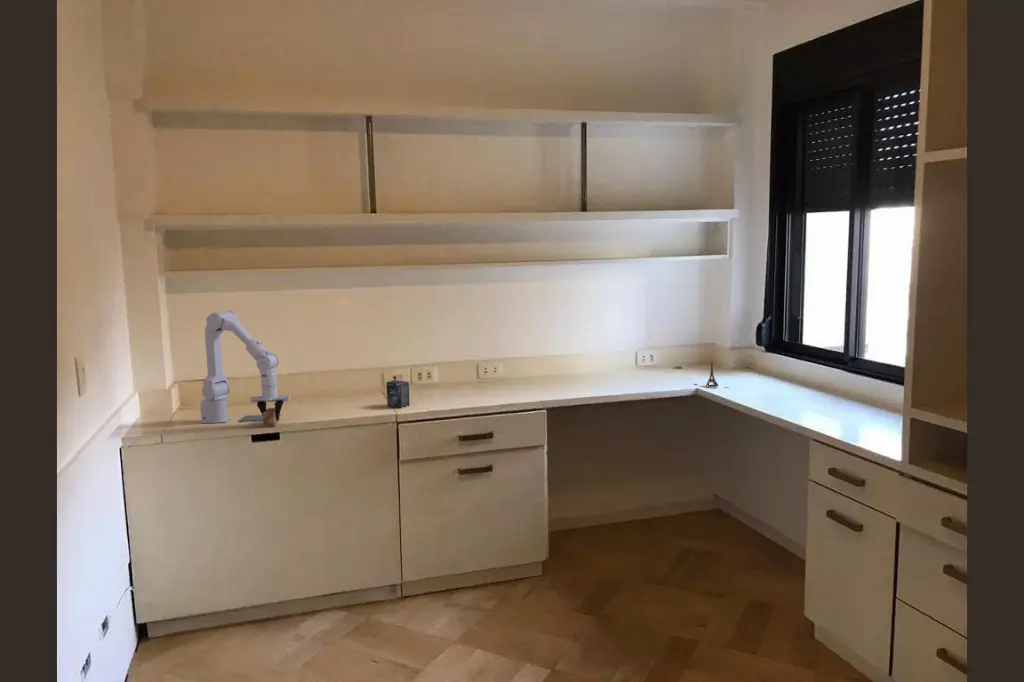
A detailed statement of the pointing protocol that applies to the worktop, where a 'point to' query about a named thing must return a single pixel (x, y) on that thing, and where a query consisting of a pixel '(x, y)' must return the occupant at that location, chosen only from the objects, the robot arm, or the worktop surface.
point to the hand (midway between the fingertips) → (271, 420)
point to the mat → (252, 418)
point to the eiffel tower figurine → (711, 380)
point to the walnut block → (270, 418)
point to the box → (397, 393)
